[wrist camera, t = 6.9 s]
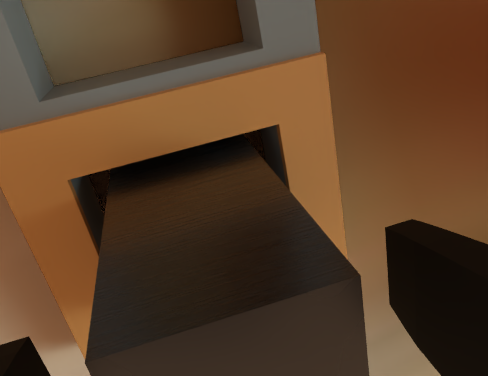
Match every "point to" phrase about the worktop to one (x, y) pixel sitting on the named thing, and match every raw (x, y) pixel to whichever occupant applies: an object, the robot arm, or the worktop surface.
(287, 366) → the block
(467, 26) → the worktop surface
